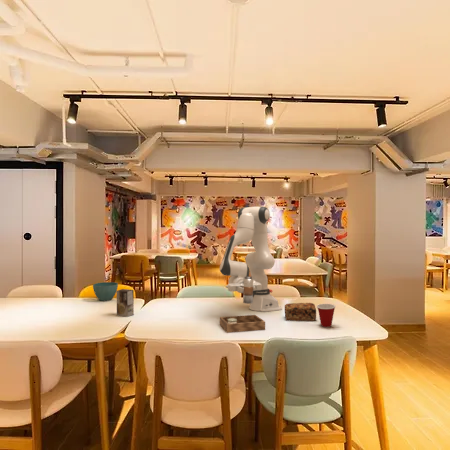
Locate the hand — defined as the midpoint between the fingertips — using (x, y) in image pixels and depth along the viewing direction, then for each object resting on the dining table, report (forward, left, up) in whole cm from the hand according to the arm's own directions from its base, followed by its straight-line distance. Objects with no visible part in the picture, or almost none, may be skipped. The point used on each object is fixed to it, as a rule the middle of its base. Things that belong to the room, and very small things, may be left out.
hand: (248, 289), depth 218 cm
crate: (+4, 0, -21) cm, 22 cm away
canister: (0, -1, -8) cm, 8 cm away
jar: (+10, +2, -22) cm, 24 cm away
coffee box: (+68, -46, -22) cm, 85 cm away
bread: (-37, -8, -22) cm, 44 cm away
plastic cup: (-44, +10, -22) cm, 50 cm away
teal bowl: (+82, -97, -22) cm, 129 cm away
